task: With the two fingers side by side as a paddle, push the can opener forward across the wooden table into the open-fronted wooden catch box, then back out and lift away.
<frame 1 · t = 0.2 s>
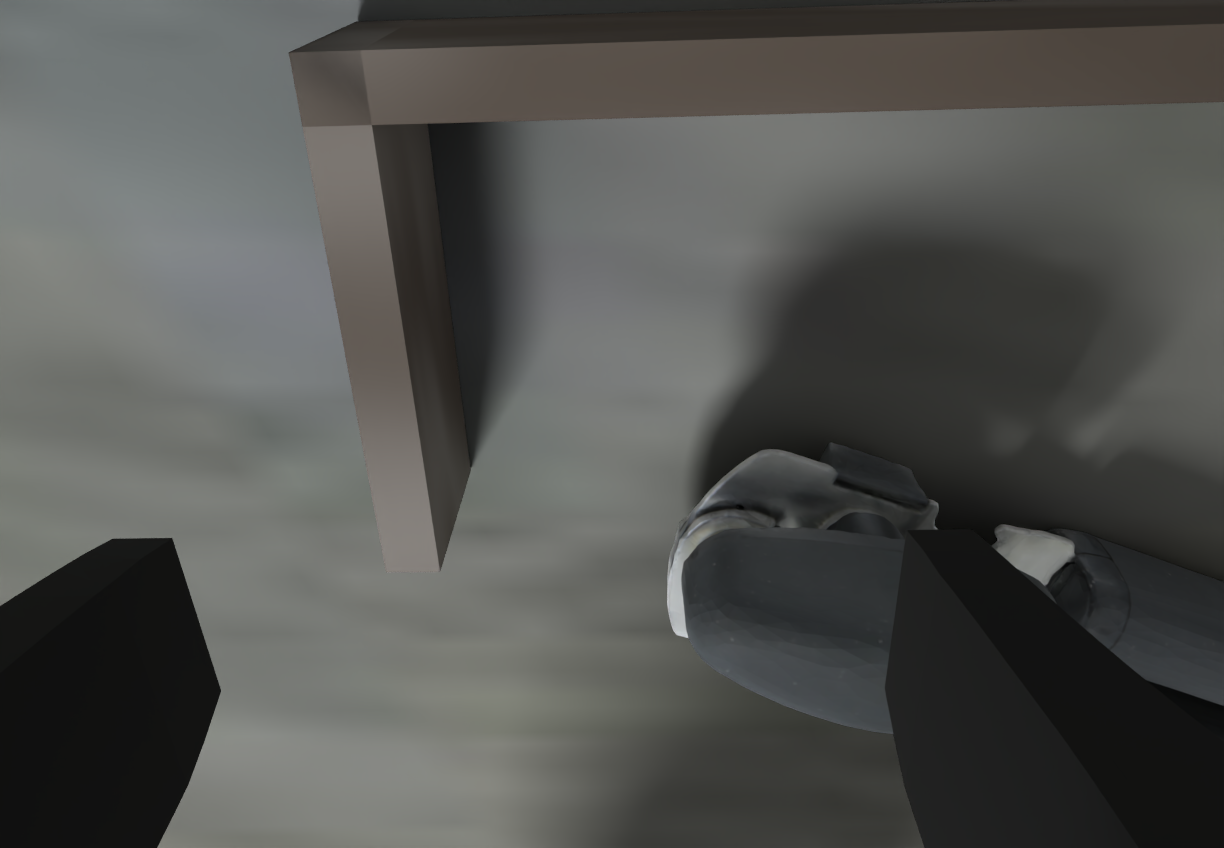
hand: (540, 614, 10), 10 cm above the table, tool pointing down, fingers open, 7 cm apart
catch box: (1137, 258, 18), on the table
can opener: (1044, 595, 22), on the table
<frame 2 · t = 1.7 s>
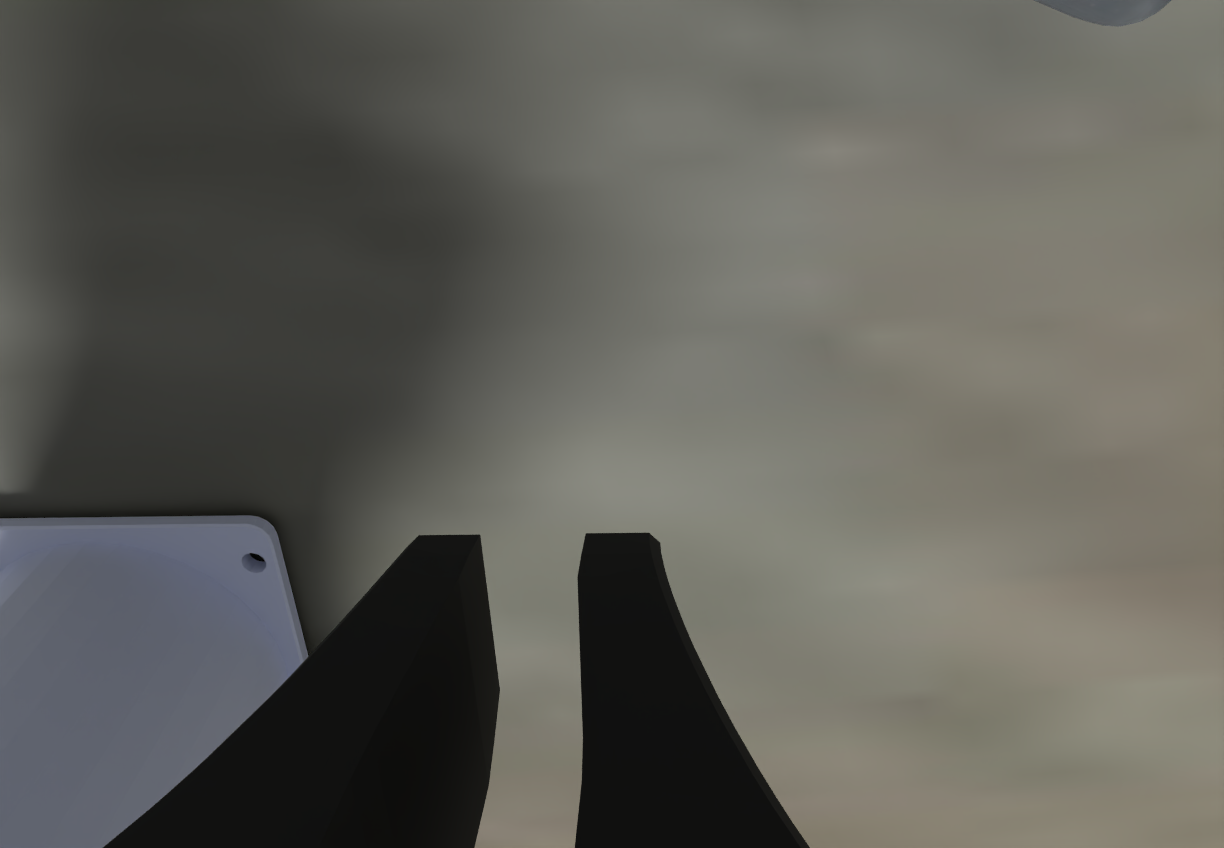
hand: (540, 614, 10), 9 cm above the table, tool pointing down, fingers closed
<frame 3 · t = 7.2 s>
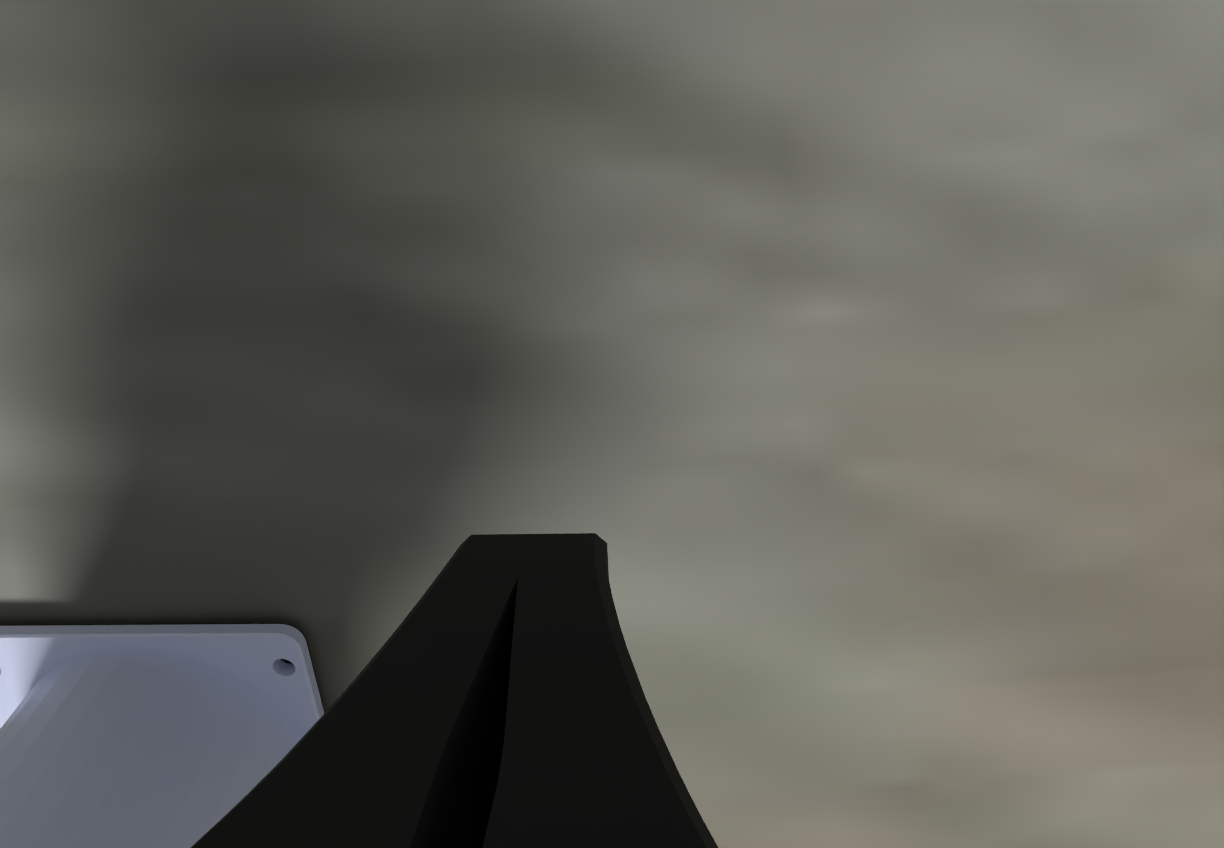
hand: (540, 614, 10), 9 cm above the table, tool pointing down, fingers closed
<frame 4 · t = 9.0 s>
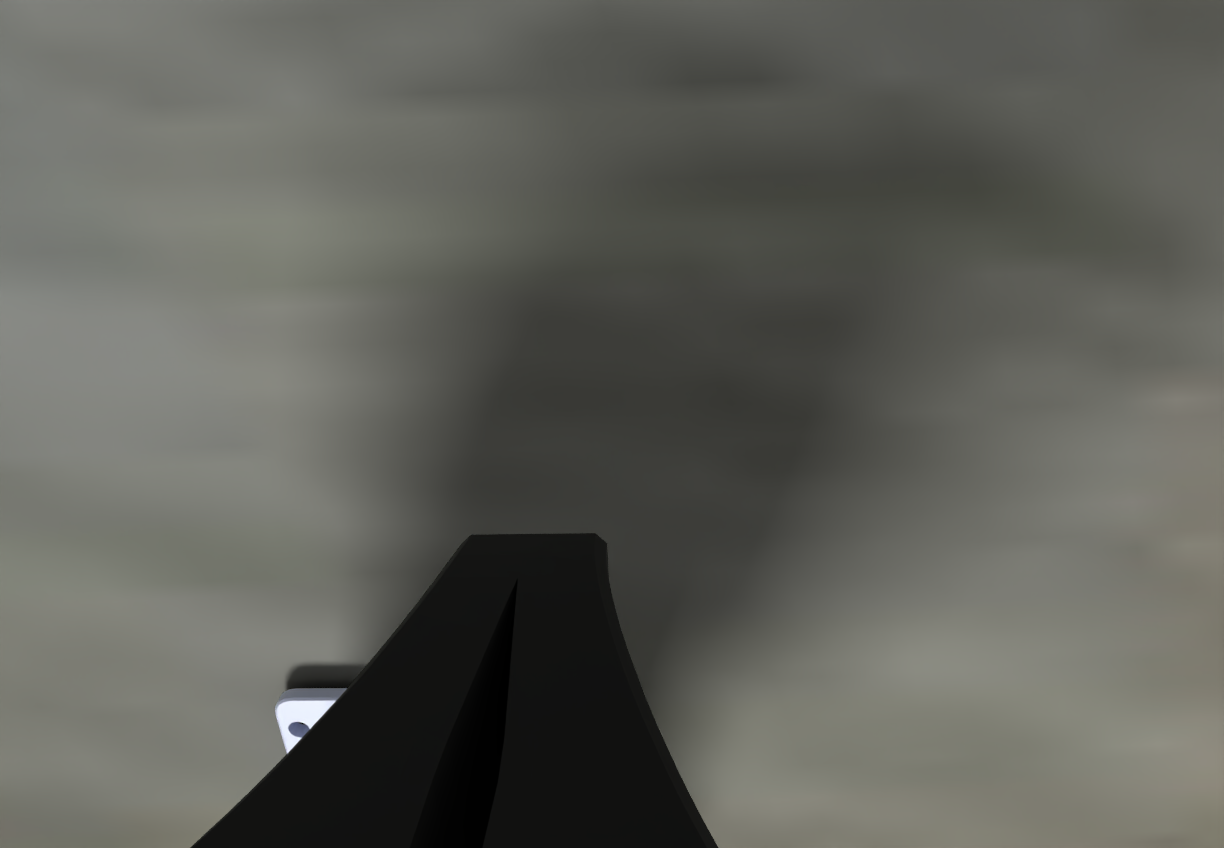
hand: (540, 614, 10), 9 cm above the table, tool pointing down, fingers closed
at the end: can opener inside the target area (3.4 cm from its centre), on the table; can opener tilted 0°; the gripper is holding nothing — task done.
